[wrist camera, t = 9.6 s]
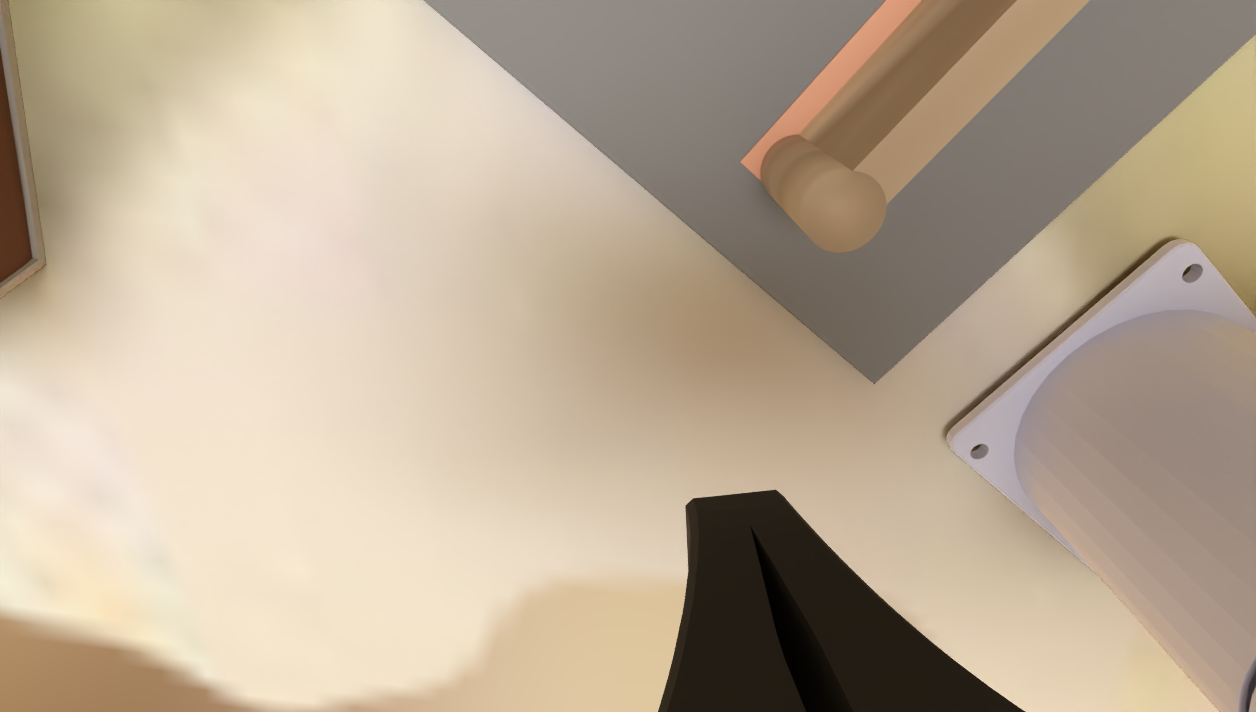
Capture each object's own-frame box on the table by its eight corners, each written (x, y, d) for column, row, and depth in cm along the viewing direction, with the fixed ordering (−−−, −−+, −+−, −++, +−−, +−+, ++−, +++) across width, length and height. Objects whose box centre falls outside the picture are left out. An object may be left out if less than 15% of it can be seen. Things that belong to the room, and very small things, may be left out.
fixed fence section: (1178, -191, 15) (1360, -239, 12) (792, 215, 18) (845, 271, 15) (1137, -258, 15) (1315, -330, 11) (745, 172, 18) (790, 221, 14)
